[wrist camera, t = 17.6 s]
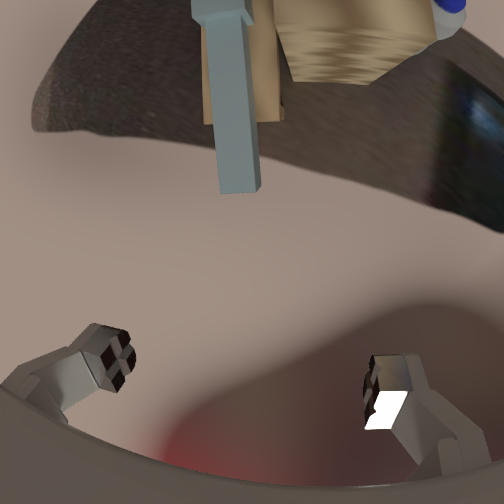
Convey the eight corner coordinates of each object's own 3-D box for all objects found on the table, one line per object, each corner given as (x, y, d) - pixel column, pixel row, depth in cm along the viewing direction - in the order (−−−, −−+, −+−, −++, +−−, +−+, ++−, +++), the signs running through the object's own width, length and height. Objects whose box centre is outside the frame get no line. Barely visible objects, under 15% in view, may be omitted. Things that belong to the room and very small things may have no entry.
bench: (282, 4, 33) (271, -38, 21) (287, 123, 41) (279, 120, 28) (230, 8, 35) (201, -29, 22) (234, 124, 43) (204, 124, 30)
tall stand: (360, 5, 31) (401, -91, 8) (367, 85, 36) (437, 39, 13) (289, 1, 33) (264, -102, 9) (293, 81, 38) (274, 23, 15)
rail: (250, -12, 23) (240, -32, 18) (268, 185, 31) (261, 195, 27) (206, -4, 24) (190, -21, 19) (222, 187, 32) (208, 198, 28)
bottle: (372, 27, 32) (411, -29, 14) (406, 16, 30) (457, -35, 12) (395, 64, 34) (451, 28, 16) (428, 52, 32) (494, 18, 14)
